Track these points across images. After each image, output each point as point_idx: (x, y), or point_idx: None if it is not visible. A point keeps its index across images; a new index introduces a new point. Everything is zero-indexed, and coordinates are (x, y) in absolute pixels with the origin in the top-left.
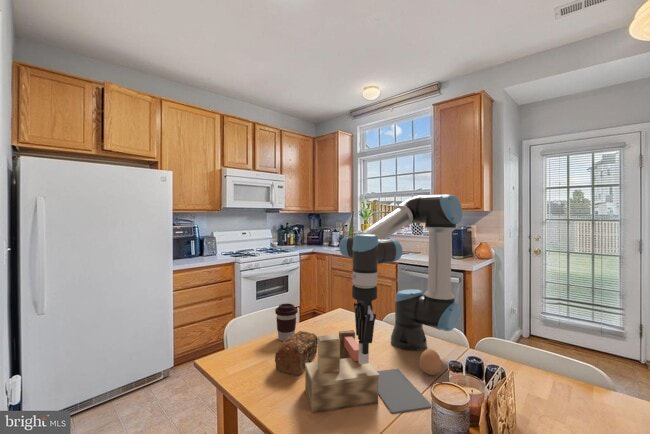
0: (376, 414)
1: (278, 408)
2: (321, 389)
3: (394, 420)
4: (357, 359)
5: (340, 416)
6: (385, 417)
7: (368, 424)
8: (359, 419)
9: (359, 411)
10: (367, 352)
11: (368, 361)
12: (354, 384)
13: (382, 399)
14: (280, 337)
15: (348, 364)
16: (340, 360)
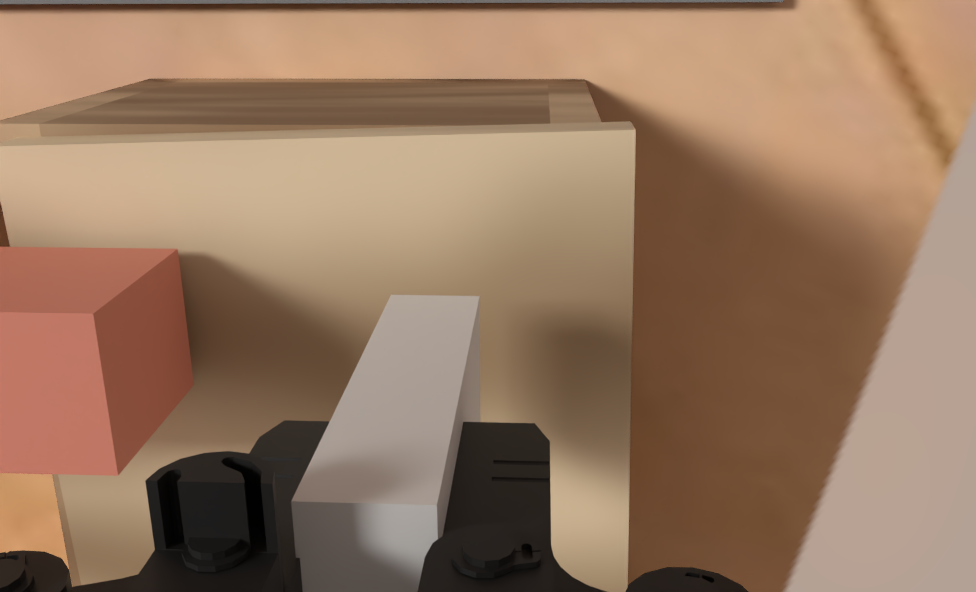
0: (739, 166)
1: None
2: None
3: (882, 20)
4: (178, 343)
5: (667, 486)
6: (809, 94)
7: (845, 293)
8: (756, 347)
9: (648, 309)
10: (546, 456)
11: (475, 309)
12: None
13: (533, 2)
14: None
15: None
16: (116, 540)
